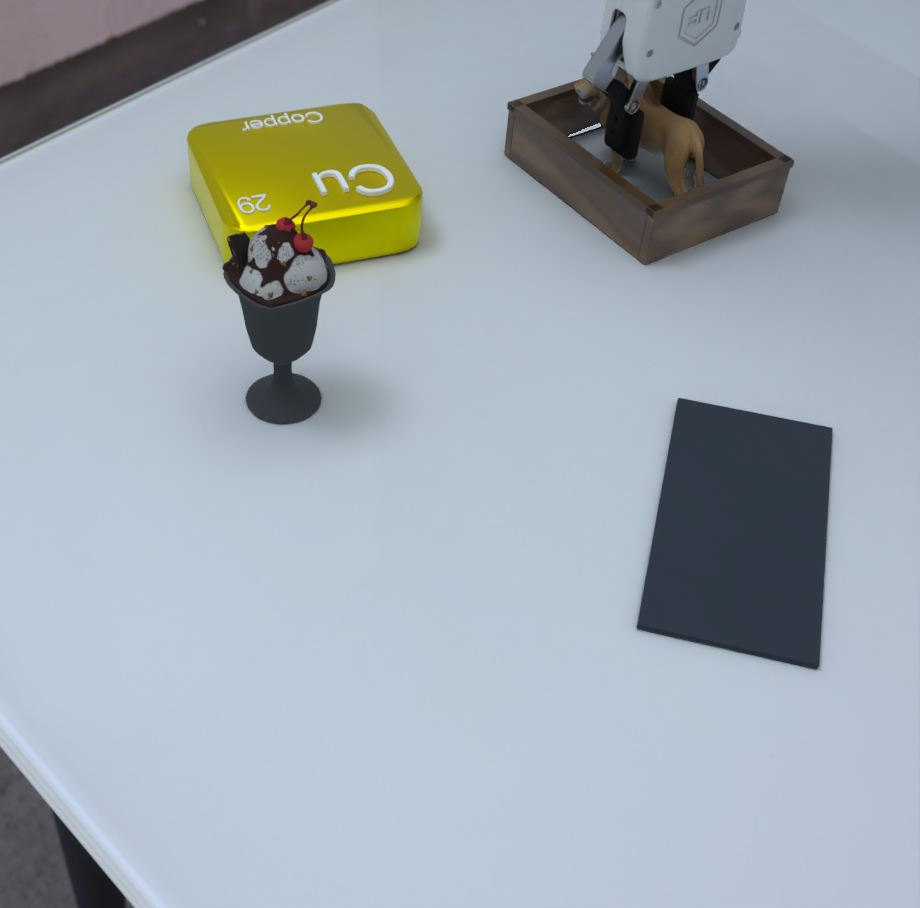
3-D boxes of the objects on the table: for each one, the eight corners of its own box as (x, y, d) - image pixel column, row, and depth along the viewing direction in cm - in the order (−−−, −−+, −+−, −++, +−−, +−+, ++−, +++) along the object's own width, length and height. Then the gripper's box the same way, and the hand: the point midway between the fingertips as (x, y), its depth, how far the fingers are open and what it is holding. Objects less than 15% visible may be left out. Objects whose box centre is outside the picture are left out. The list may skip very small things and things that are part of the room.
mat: (677, 401, 87) (678, 397, 86) (831, 432, 85) (832, 427, 85) (636, 628, 74) (637, 624, 73) (817, 669, 72) (819, 665, 72)
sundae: (354, 408, 85) (359, 210, 74) (266, 446, 83) (256, 247, 72) (301, 353, 89) (297, 156, 78) (214, 388, 86) (197, 189, 75)
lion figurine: (554, 158, 107) (568, 53, 100) (596, 135, 109) (613, 31, 102) (698, 237, 100) (724, 130, 93) (740, 210, 102) (768, 104, 95)
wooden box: (631, 110, 112) (641, 59, 109) (779, 212, 102) (795, 160, 99) (501, 154, 107) (507, 101, 103) (644, 266, 97) (655, 212, 93)
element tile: (366, 146, 107) (367, 91, 103) (428, 250, 97) (431, 194, 94) (185, 173, 103) (180, 118, 100) (231, 284, 94) (227, 227, 90)
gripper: (633, -54, 83) (591, 196, 96) (823, -106, 89) (759, 135, 103) (560, -97, 87) (529, 149, 101) (747, -143, 94) (694, 93, 107)
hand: (646, 140), depth 102 cm, fingers closed on lion figurine, 4 cm apart
